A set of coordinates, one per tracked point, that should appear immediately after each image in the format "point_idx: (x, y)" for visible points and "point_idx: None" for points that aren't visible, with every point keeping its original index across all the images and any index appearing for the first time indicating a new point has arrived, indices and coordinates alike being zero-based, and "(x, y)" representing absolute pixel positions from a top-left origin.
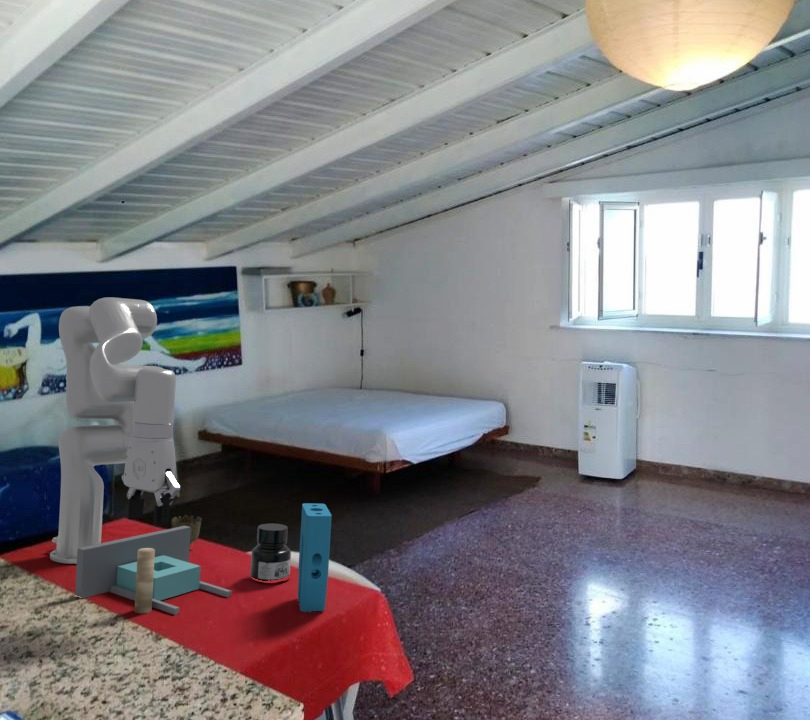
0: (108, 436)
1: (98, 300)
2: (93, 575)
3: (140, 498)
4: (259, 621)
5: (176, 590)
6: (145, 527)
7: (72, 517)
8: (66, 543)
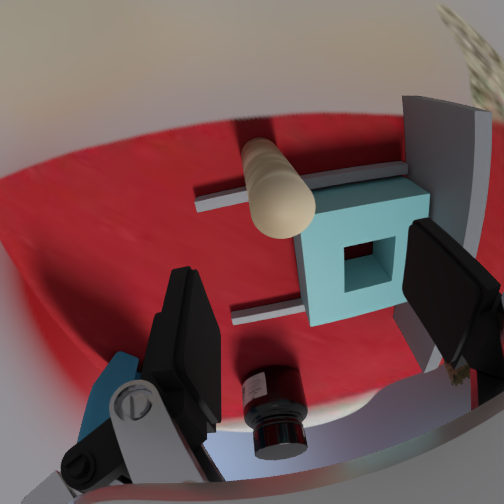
0: None
1: None
2: (429, 130)
3: (460, 352)
4: (100, 295)
5: (296, 253)
6: None
7: None
8: None
